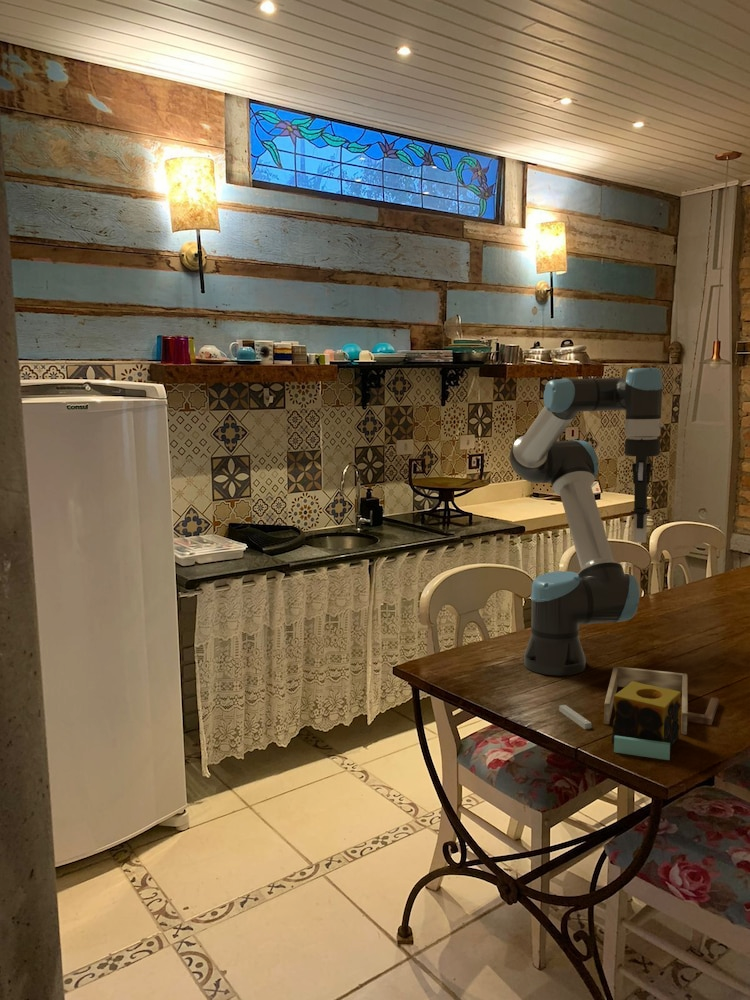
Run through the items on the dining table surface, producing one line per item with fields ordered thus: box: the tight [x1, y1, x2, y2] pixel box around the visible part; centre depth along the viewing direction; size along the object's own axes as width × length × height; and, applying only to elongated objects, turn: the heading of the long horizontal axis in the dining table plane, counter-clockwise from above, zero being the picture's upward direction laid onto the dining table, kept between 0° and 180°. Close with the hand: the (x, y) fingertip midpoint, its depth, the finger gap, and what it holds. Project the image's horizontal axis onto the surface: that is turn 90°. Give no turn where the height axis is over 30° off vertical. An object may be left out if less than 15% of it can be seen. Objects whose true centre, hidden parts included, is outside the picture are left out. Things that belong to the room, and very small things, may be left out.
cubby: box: [603, 666, 688, 736], centre depth 170 cm, size 16×23×4 cm
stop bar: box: [613, 735, 671, 761], centre depth 148 cm, size 10×1×3 cm, turn 68°
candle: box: [611, 681, 682, 748], centre depth 154 cm, size 10×10×10 cm
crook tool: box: [687, 697, 720, 726], centre depth 167 cm, size 5×12×2 cm, turn 150°
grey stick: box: [558, 704, 592, 730], centre depth 165 cm, size 2×10×2 cm, turn 18°
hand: (639, 541), depth 177 cm, fingers closed
